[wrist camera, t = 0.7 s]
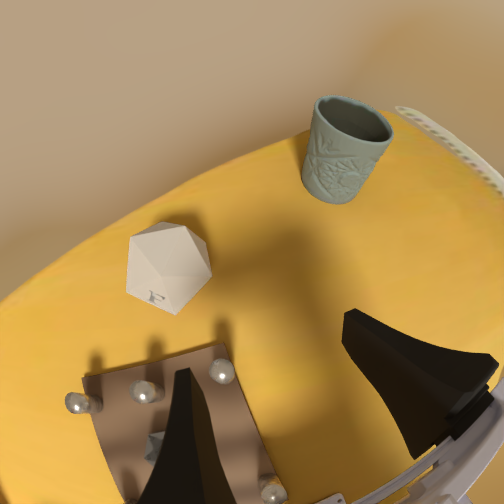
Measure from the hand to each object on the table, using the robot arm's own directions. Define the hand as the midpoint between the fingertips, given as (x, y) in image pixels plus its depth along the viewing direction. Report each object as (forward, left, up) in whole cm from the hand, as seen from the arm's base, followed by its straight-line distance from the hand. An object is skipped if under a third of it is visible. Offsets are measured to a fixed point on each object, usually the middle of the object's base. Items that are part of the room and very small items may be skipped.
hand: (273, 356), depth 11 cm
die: (+12, +5, -15) cm, 20 cm away
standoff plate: (-5, +10, -15) cm, 18 cm away
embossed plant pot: (+20, -19, -15) cm, 32 cm away
